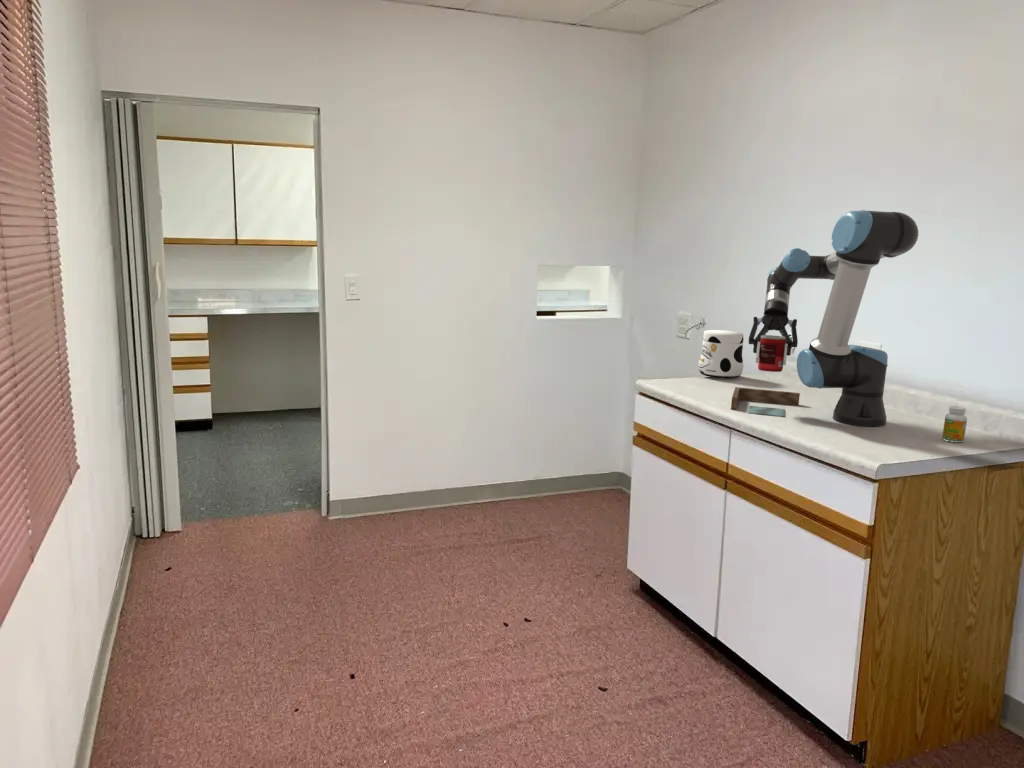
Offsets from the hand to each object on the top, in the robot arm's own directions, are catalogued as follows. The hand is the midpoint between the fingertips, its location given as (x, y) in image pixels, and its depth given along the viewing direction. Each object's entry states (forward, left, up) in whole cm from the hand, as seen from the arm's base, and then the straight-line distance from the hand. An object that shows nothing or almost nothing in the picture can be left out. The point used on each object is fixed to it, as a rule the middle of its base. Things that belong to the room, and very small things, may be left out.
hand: (770, 361), depth 242 cm
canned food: (+2, -3, -4) cm, 5 cm away
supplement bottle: (-48, -22, -17) cm, 55 cm away
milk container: (+52, -33, -17) cm, 64 cm away
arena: (+4, -5, -17) cm, 18 cm away
